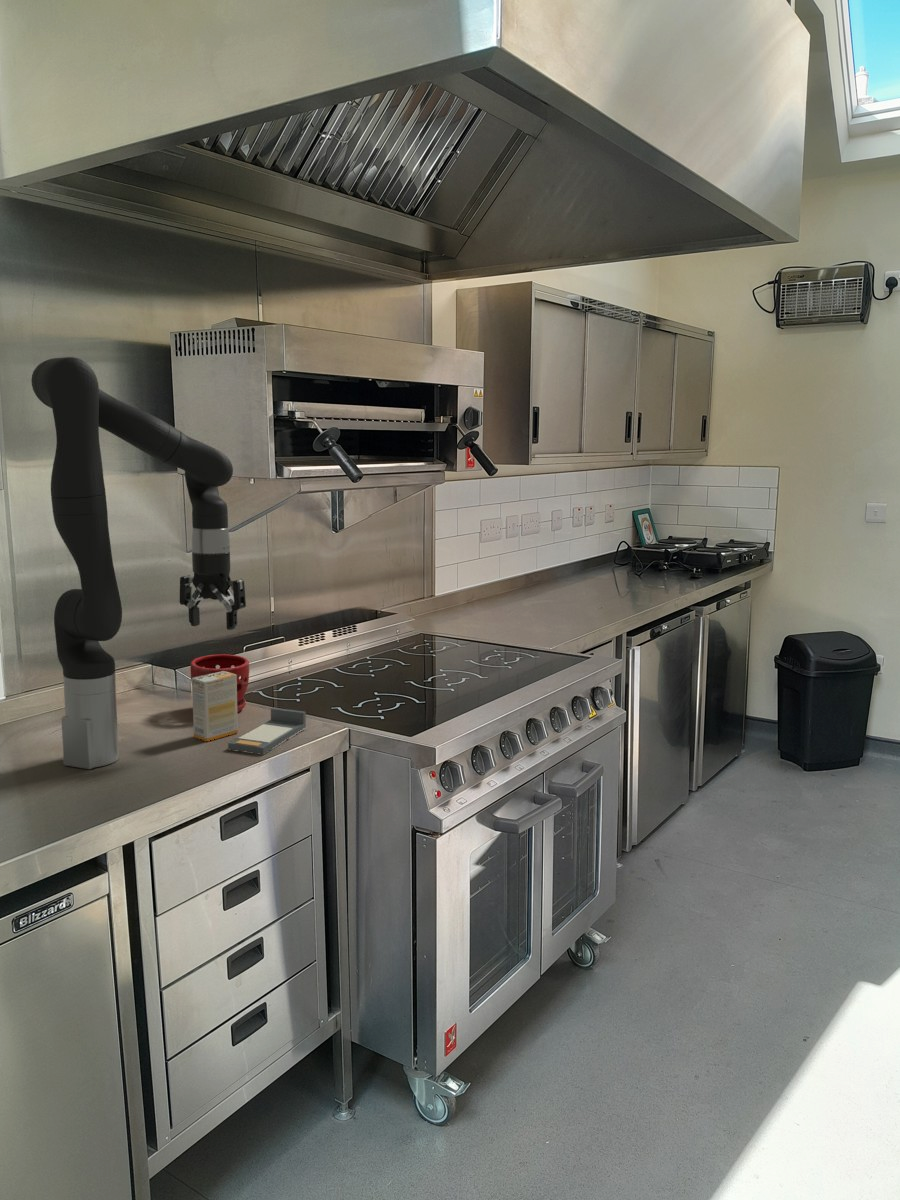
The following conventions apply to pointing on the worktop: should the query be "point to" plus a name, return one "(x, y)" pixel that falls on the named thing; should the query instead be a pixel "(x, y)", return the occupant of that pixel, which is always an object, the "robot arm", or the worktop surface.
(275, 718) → the plate
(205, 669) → the plant pot
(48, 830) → the worktop surface
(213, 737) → the supplement box
